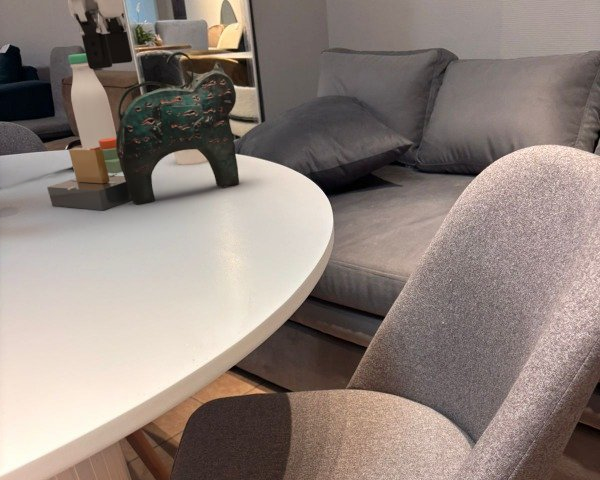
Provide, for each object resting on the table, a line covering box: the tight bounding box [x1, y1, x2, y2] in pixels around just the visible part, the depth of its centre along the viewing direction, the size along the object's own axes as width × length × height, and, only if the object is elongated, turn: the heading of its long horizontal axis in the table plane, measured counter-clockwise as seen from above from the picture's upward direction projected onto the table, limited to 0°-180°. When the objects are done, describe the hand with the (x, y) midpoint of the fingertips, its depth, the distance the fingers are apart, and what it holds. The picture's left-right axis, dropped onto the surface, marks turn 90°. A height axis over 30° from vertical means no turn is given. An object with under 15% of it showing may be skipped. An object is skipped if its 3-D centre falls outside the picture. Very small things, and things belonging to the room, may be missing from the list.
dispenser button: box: [99, 138, 116, 149], centre depth 126 cm, size 4×4×2 cm
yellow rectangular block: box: [68, 147, 110, 184], centre depth 101 cm, size 6×2×5 cm, turn 58°
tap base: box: [46, 173, 132, 211], centre depth 104 cm, size 12×10×3 cm
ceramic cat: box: [116, 51, 240, 205], centre depth 98 cm, size 20×6×20 cm, turn 116°
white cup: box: [173, 149, 208, 166], centre depth 124 cm, size 8×8×10 cm
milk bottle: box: [67, 52, 117, 148], centre depth 137 cm, size 8×8×20 cm
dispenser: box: [102, 148, 123, 174], centre depth 127 cm, size 10×8×4 cm
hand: (112, 65), depth 92 cm, fingers open, 9 cm apart
